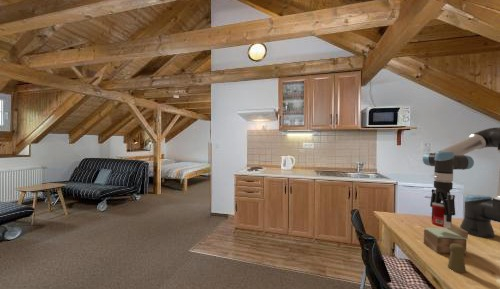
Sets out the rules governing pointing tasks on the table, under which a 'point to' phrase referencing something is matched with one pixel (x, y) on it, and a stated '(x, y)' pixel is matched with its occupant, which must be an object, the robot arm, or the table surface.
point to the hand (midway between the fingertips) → (441, 224)
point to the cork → (457, 258)
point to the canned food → (438, 214)
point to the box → (441, 243)
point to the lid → (449, 232)
